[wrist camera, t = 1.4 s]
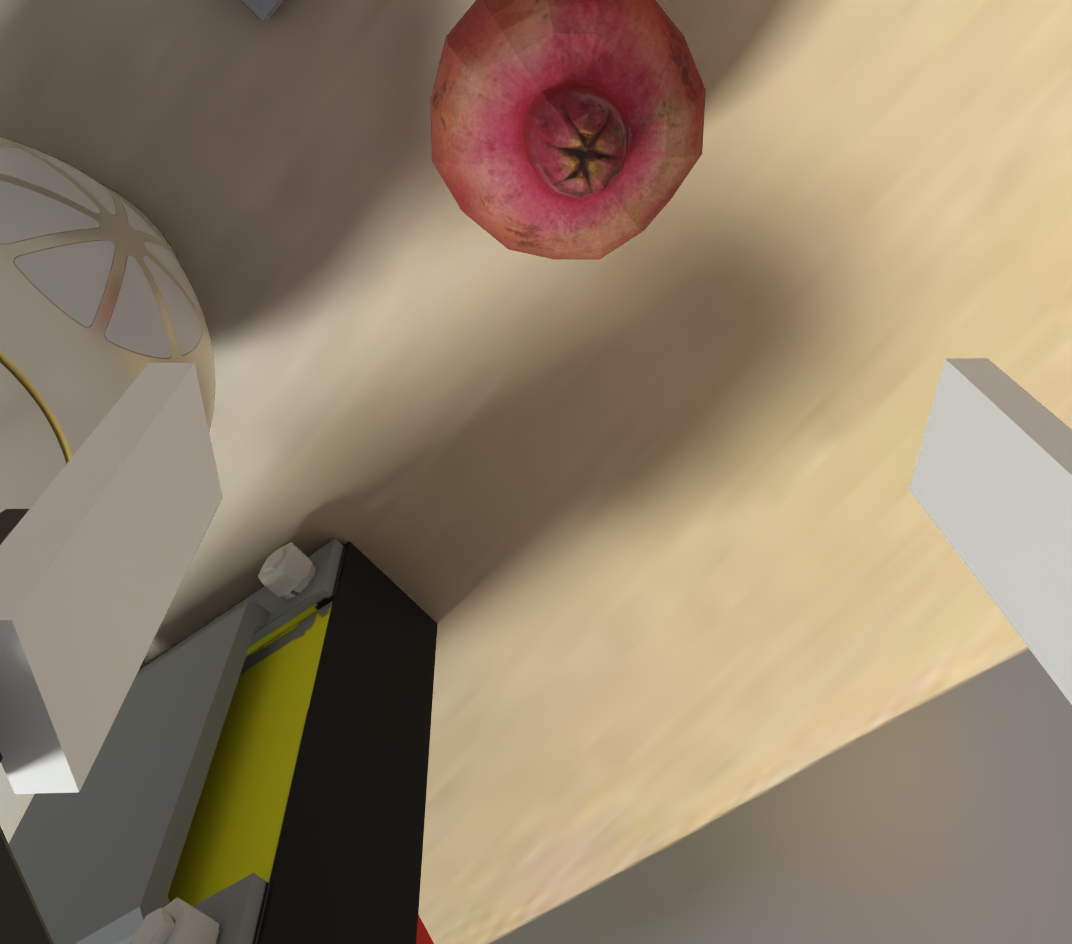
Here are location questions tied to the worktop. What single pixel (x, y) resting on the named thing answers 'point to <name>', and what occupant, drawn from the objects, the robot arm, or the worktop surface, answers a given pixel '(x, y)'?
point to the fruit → (565, 121)
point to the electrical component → (256, 777)
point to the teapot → (79, 314)
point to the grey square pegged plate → (263, 7)
